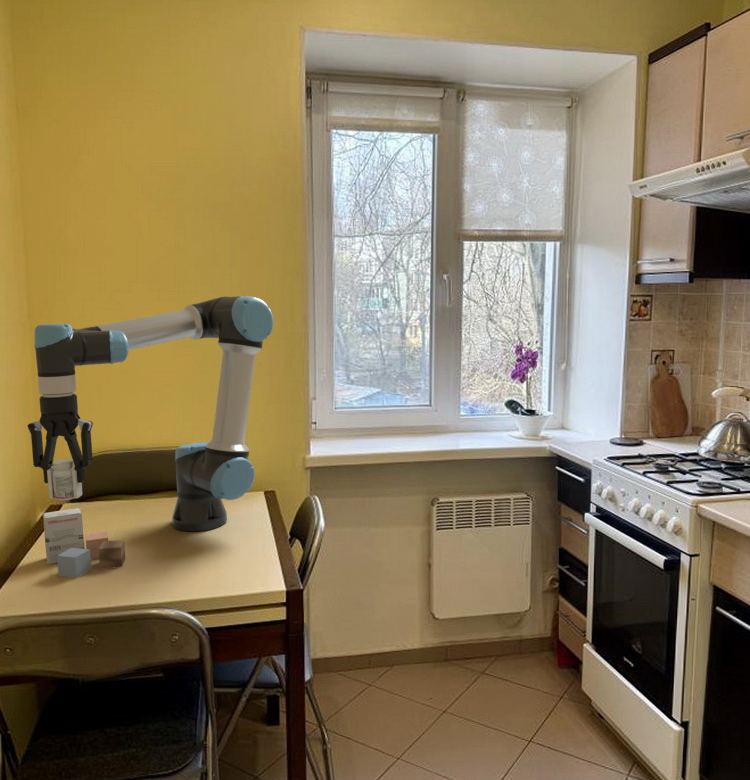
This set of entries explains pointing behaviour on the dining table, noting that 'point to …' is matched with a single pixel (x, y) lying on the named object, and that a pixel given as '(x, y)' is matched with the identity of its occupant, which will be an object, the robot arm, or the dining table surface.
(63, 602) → the dining table surface
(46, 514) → the ink box
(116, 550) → the walnut cube
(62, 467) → the pill bottle
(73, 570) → the slate blue cube
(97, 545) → the terracotta cube
